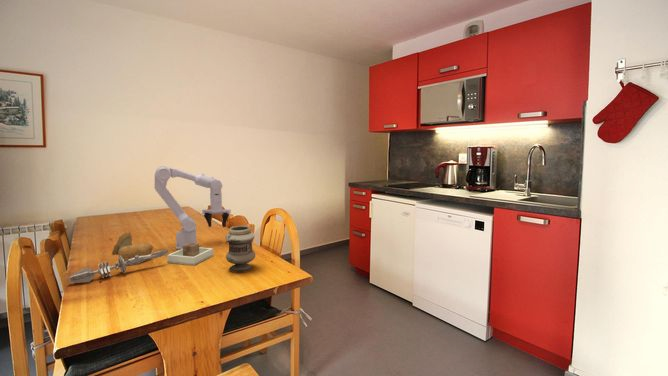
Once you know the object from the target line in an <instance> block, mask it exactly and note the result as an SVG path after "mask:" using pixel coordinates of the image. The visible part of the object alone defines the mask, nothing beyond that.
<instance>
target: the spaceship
mask: <svg viewBox="0 0 668 376" xmlns="http://www.w3.org/2000/svg"><path fill="white" fill-rule="evenodd" d="M168 253H169V249H164V250H163V249H162V250H159V251H155V252H153V253H152V252H151V254H150V255H145V256H138V255H137V256H135V258H132V259H128V260H127V261H124V259H123V258H122V257H121V255H118V259H117V260H118V262H115V263H114V265H110V264H109V262H108V261H106V260H105V262H101V263H97V266H98V269H97V270H94V269H93V268H91V267H86V266H85V267H83V268H82V269H80V270H77V271H75V272H74V273H73V274H72V275H70V276H68V277H67V279H68V283H69V284H70V283H71V284H72V283H74V284H79V283H82V284H83V283H90V282H91V281H92V280H93V279H94V278H95V275H96V274H99V275H100V277H101V278H102V279H104V278H105V277H106V278H109V277H111V276H112V274H111V271H112V269H115V270H116V271H118V270H119V269H120V271H121V273H122V274H123V275H125V274H126V270H127V267H126V266H133V265H136V266H138V265H140V263H143V262H144V261H148V260H151V259H157V258H161V257H163V256H166V255H168ZM108 276H109V277H108Z"/></svg>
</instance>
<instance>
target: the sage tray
mask: <svg viewBox="0 0 668 376" xmlns="http://www.w3.org/2000/svg"><path fill="white" fill-rule="evenodd" d="M166 257H167V258H166V260H167V263H168V264H176V265H177V264H179V265H186V266H197V265H198V264H200V263H202V262H203V261H206V260H208V259H210V258H212V257H214V248H211V247H201V246H199V254H198V255H196V256H194V257H189V256H183V249H178V250H176V251H173V252H171V253H169V254H166Z"/></svg>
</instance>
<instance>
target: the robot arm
mask: <svg viewBox="0 0 668 376" xmlns="http://www.w3.org/2000/svg"><path fill="white" fill-rule="evenodd" d="M170 178H172V179H173V178H182V179H186V180H189V181H192V182H194V184H195V185H197V186H199V187H203V188H205V189H209V190H210V191H209V192H210V193H209V196H210V197H209V199H210V209H202V210H201V211H202V215H203V217H204V219H205V220H206V223H207V226H208V228H211V227H212V215H213V214H221V218H222V228H225V227H226V225H227V221H228V218H229V217H230V216H229V215H230V214H231V211H232V210H231V209H226V208H225V209H224V208H223V199H222V198H223V197H222V188H223V184H222V182H221V181H220V180H219V179H216V178H214V177H212V176H211V177H210V176H207V175H205V174H204V173H199V174H196V175H195V174H193V173H191V172H190V173H189V172H187V171H184V170H181V169H179V168H174V167H167V166H164V165H162V166H158V168H156V170H155V173H154V189H155V192H156V193H157V194H158V195H159V196H160V197H161V199H162V200H163V201H164V203H165V204H166V206H168V208H169V209H170V210H171V211H172V213H173V214H174V215H175V217H176V218H177V219H178V221H179V222H180V226H181V227H182V228H181V229H180V230H178V231H177V232H176V236H175V241H176V244H175V245H176V247H175V249H176V250H177V249H178V250H181V249H183V247H182V246H183V245H186V244H188V243H197V244H198V240H197V228H196V227H197V223H196V221H195V220H194V218H192V217H191V216H189V215H188V214H187V213H186V212H185V210H184V208H182V206H181V205H180V204H179V202H178V201H177V200H176V199H175V197H174V196H173V195H172V194H171V192H170V191H169V189H168V188H167V183H168V181H169V180H170ZM201 246H202V245H201V244H199V247H201Z"/></svg>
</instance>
